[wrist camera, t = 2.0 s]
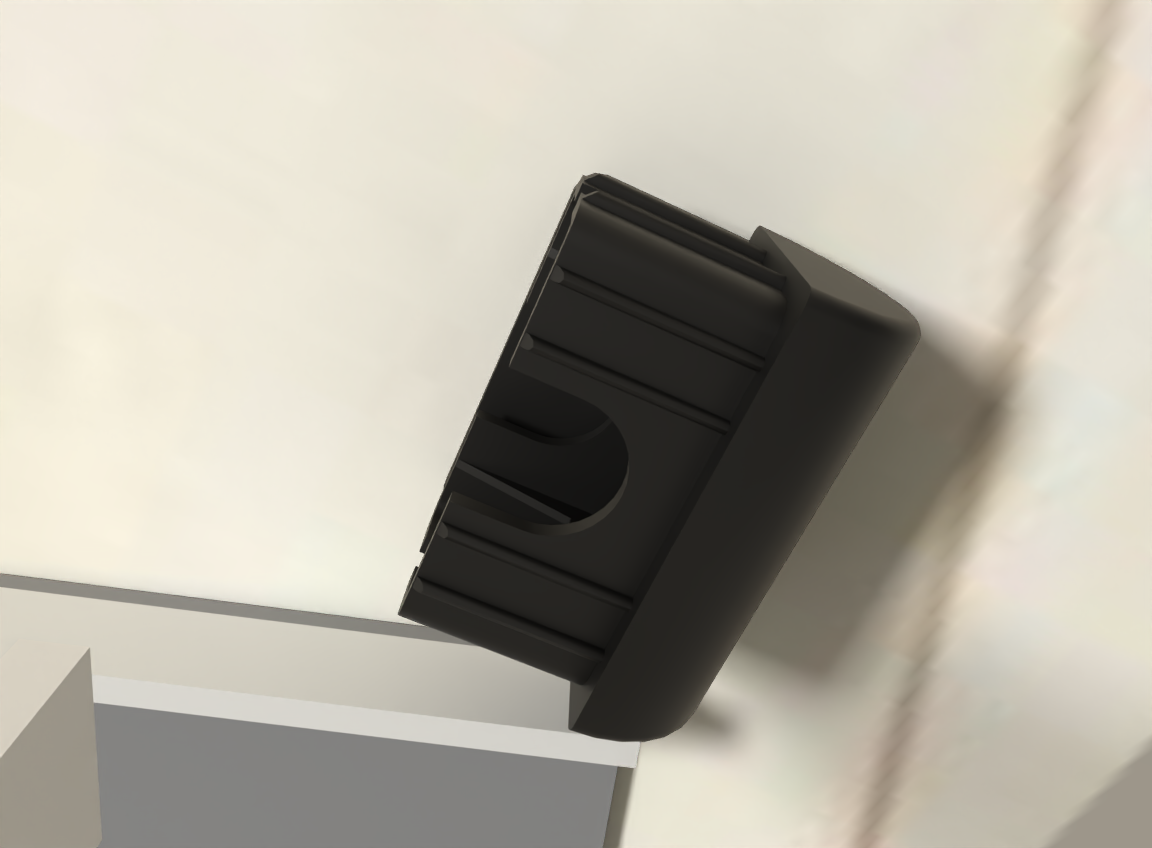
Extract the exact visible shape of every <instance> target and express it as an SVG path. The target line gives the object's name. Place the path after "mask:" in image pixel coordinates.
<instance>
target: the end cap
mask: <svg viewBox="0 0 1152 848" xmlns="http://www.w3.org/2000/svg"><path fill="white" fill-rule="evenodd" d="M920 336H921V331H920V327H919V324H918V321H917V320H916V319H915V317H914V316H913V315H912V314H911V313H910V312H909V311H908V310H907V309H905V308H904V307H903V306H902V305H900V304H899V303H898V302H896V301H895V300H893V299H892V298H890V297H889V296H888V295H886V294H885V293H883V292H882V291H880V290H879V289H877V288H875V287H874V286H872V285H871V284H869V283H867V282H866V281H864V280H862V279H861V278H859V277H857V276H856V275H854V274H852V273H851V272H849V271H847V270H845V269H844V268H842V267H840V266H838V265H836V264H835V263H833V262H831V261H829V260H827V259H826V258H824V257H822V256H820V255H818V254H816V253H814V252H812V251H810V250H808V249H807V248H805V247H803V246H801V245H799V244H797V243H795V242H793V241H791V240H789V239H787V238H785V237H783V236H781V235H779V234H777V233H774V232H772V231H770V230H768V229H766V228H764V227H762V226H758V227H757V229H756V230H755V231H754V233H753V235H752V237H751V239H750V240H749V241H748V240H746V239H744V238H742V237H740V236H738V235H736V234H734V233H732V232H730V231H728V230H725V229H723V228H721V227H719V226H717V225H715V224H712V223H710V222H708V221H706V220H704V219H702V218H700V217H697V216H695V215H693V214H691V213H689V212H687V211H684V210H682V209H680V208H678V207H676V206H674V205H671V204H669V203H667V202H665V201H663V200H661V199H659V198H656V197H654V196H652V195H650V194H648V193H646V192H643V191H641V190H639V189H637V188H635V187H633V186H631V185H628V184H626V183H624V182H622V181H620V180H618V179H615V178H613V177H611V176H609V175H604V174H600V173H599V174H598V173H594V174H591V175H588V176H584V175H583V176H582V178H581V180H580V181H579V182H578V184H577V185H576V186H575V187H574V189H573V192H572V194H571V196H570V199H569V201H568V203H567V205H566V208H565V210H564V212H563V214H562V217H561V219H560V221H559V224H558V226H557V228H556V230H555V233H554V235H553V237H552V239H551V242H550V244H549V246H548V249H547V251H546V253H545V255H544V258H543V260H542V262H541V264H540V267H539V269H538V271H537V274H536V276H535V278H534V280H533V283H532V285H531V287H530V289H529V292H528V294H527V296H526V299H525V301H524V303H523V305H522V308H521V310H520V312H519V314H518V317H517V319H516V321H515V324H514V326H513V328H512V330H511V333H510V335H509V337H508V339H507V342H506V344H505V346H504V349H503V351H502V353H501V355H500V358H499V360H498V362H497V364H496V367H495V369H494V371H493V374H492V376H491V378H490V380H489V383H488V385H487V387H486V389H485V392H484V394H483V396H482V399H481V401H480V403H479V405H478V408H477V410H476V412H475V415H474V417H473V419H472V421H471V424H470V426H469V428H468V430H467V433H466V435H465V437H464V440H463V442H462V444H461V446H460V449H459V451H458V453H457V455H456V458H455V460H454V462H453V465H452V467H451V469H450V471H449V474H448V476H447V478H446V481H445V484H444V489H443V492H442V494H441V496H440V499H439V501H438V503H437V506H436V508H435V510H434V513H433V515H432V518H431V520H430V523H429V526H428V528H427V531H426V534H425V537H424V540H423V543H422V546H421V548H420V551H419V552H422V553H424V556H423V558H422V561H421V563H420V565H419V567H417V566H416V567H415V569H414V571H413V573H412V576H411V578H410V580H409V583H408V586H407V589H406V592H405V594H404V597H403V600H402V603H401V606H400V609H399V612H398V615H399V616H402V617H405V618H407V619H410V620H412V621H415V622H418V623H420V624H423V625H425V626H428V627H431V628H433V629H436V630H438V631H441V632H443V633H446V634H449V635H451V636H454V637H456V638H459V639H462V640H464V641H467V642H469V643H472V644H475V645H477V646H480V647H482V648H485V649H487V650H490V651H493V652H495V653H498V654H500V655H503V656H506V657H508V658H511V659H513V660H516V661H518V662H521V663H524V664H526V665H529V666H531V667H534V668H537V669H539V670H542V671H544V672H547V673H550V674H552V675H555V676H557V677H560V678H562V679H565V680H568V681H570V696H569V718H568V729H569V730H571V731H574V732H577V733H580V734H584V735H587V736H590V737H593V738H598V739H605V740H611V741H617V742H645V741H650V740H654V739H658V738H662V737H665V736H667V735H669V734H671V733H673V732H674V731H676V730H678V729H680V728H681V727H682V726H683V725H684V724H685V723H686V722H687V720H688V719H689V718H690V717H691V716H692V715H693V713H694V712H695V710H696V709H697V707H698V705H699V704H700V702H701V700H702V699H703V697H704V695H705V694H706V692H707V690H708V689H709V687H710V685H711V684H712V682H713V680H714V679H715V677H716V675H717V674H718V672H719V671H720V669H721V667H722V666H723V664H724V662H725V661H726V659H727V657H728V656H729V654H730V652H731V651H732V649H733V647H734V646H735V644H736V642H737V641H738V639H739V637H740V636H741V634H742V633H743V631H744V629H745V628H746V626H747V624H748V623H749V621H750V619H751V618H752V616H753V614H754V613H755V611H756V609H757V608H758V606H759V604H760V603H761V601H762V599H763V598H764V596H765V595H766V593H767V591H768V590H769V588H770V586H771V585H772V583H773V581H774V580H775V578H776V576H777V575H778V573H779V571H780V570H781V568H782V566H783V565H784V563H785V561H786V560H787V558H788V557H789V555H790V553H791V552H792V550H793V548H794V547H795V545H796V543H797V542H798V540H799V538H800V537H801V535H802V533H803V532H804V530H805V528H806V527H807V525H808V523H809V522H810V520H811V519H812V517H813V515H814V514H815V512H816V510H817V509H818V507H819V505H820V504H821V502H822V500H823V499H824V497H825V495H826V494H827V492H828V490H829V489H830V487H831V485H832V484H833V482H834V481H835V479H836V477H837V476H838V474H839V472H840V471H841V469H842V467H843V466H844V464H845V462H846V461H847V459H848V457H849V456H850V454H851V452H852V451H853V449H854V447H855V446H856V444H857V443H858V441H859V439H860V438H861V436H862V434H863V433H864V431H865V429H866V428H867V426H868V424H869V423H870V421H871V419H872V418H873V416H874V414H875V413H876V411H877V409H878V408H879V406H880V405H881V403H882V401H883V400H884V398H885V396H886V395H887V393H888V391H889V390H890V388H891V386H892V385H893V383H894V381H895V380H896V378H897V376H898V375H899V373H900V372H901V370H902V368H903V367H904V365H905V363H906V362H907V360H908V358H909V357H910V355H911V353H912V352H913V350H914V348H915V347H916V345H917V343H918V342H919V339H920Z"/></svg>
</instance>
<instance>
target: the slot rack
mask: <svg viewBox="0 0 1152 848" xmlns="http://www.w3.org/2000/svg"><path fill="white" fill-rule="evenodd" d="M18 639H26V640H34V641H43V642H51V643H60V644H69V645H77V646H86V647H90V655H91V671H92V687H93V702H94V718H95V734H96V750H97V766H98V782H99V798H100V814H101V830H102V840H101V842H100V844H99V845H98V847H97V848H603V844H604V839H605V833H606V828H607V822H608V817H609V812H610V806H611V801H612V795H613V790H614V785H615V779H616V774H617V768H618V766H621V767H629V768H636V763H637V758H638V753H639V748H640V743H641V742H617V741H611V740H605V739H598V738H593V737H590V736H587V735H584V734H580V733H577V732H574V731H571V730H569V729H568V718H569V696H570V681H568V680H565V679H562V678H560V677H557V676H555V675H552V674H550V673H547V672H544V671H542V670H539V669H537V668H534V667H531V666H529V665H526V664H524V663H521V662H518V661H516V660H513V659H511V658H508V657H506V656H503V655H500V654H498V653H495V652H493V651H490V650H487V649H485V648H482V647H480V646H477V645H475V644H472V643H469V642H467V641H464V640H462V639H459V638H456V637H454V636H451V635H449V634H446V633H443V632H441V631H438V630H436V629H433V628H431V627H424V626H416V625H408V624H400V623H392V622H384V621H376V620H368V619H360V618H352V617H344V616H336V615H328V614H320V613H312V612H304V611H296V610H288V609H280V608H272V607H264V606H256V605H248V604H240V603H231V602H223V601H215V600H207V599H199V598H191V597H183V596H175V595H167V594H159V593H151V592H143V591H135V590H127V589H119V588H111V587H103V586H95V585H87V584H79V583H71V582H63V581H55V580H47V579H39V578H31V577H23V576H15V575H7V574H0V659H1V658H2V657H3V655H4V654H5V653H6V652H7V651H8V650H9V649H10V648H11V647H12V646H13V645H14V644H15V643H16V642H17V641H18Z"/></svg>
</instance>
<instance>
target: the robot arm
mask: <svg viewBox="0 0 1152 848" xmlns="http://www.w3.org/2000/svg"><path fill="white" fill-rule="evenodd" d="M101 840H102V830H101V814H100V798H99V782H98V766H97V750H96V734H95V718H94V702H93V687H92V671H91V655H90V647H86V646H77V645H69V644H60V643H51V642H43V641H34V640H26V639H18V641H17V642H16V643H15V644H14V645H13V646H12V647H11V648H10V649H9V650H8V651H7V652H6V653H5V654H4V655H3V657H2V658H1V659H0V848H97V847H98V845H99V844H100V842H101Z"/></svg>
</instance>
